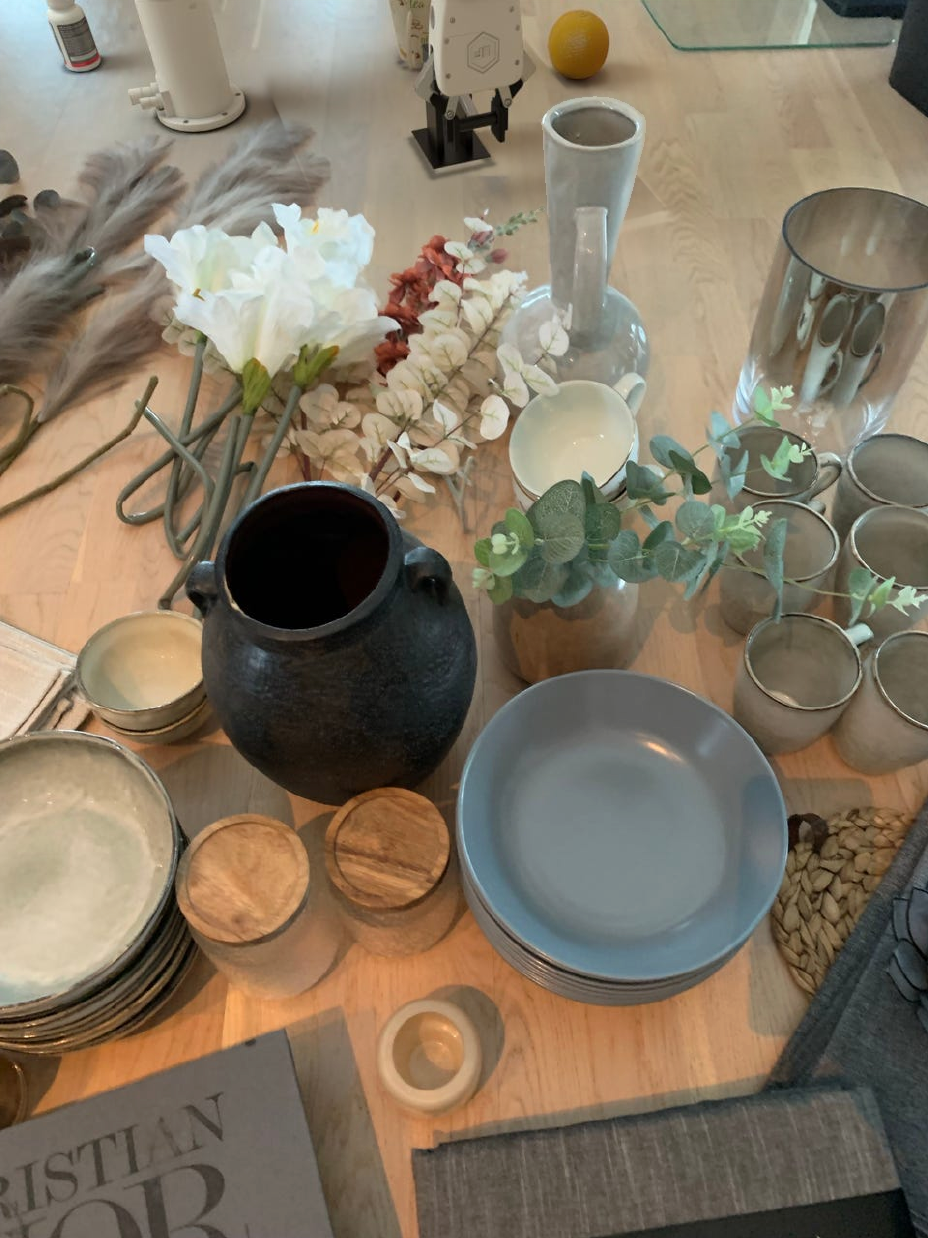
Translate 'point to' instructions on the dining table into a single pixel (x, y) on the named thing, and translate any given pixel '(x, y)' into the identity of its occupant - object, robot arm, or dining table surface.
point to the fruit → (578, 44)
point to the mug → (411, 27)
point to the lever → (474, 116)
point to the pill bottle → (72, 35)
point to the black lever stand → (434, 138)
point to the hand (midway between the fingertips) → (475, 140)
